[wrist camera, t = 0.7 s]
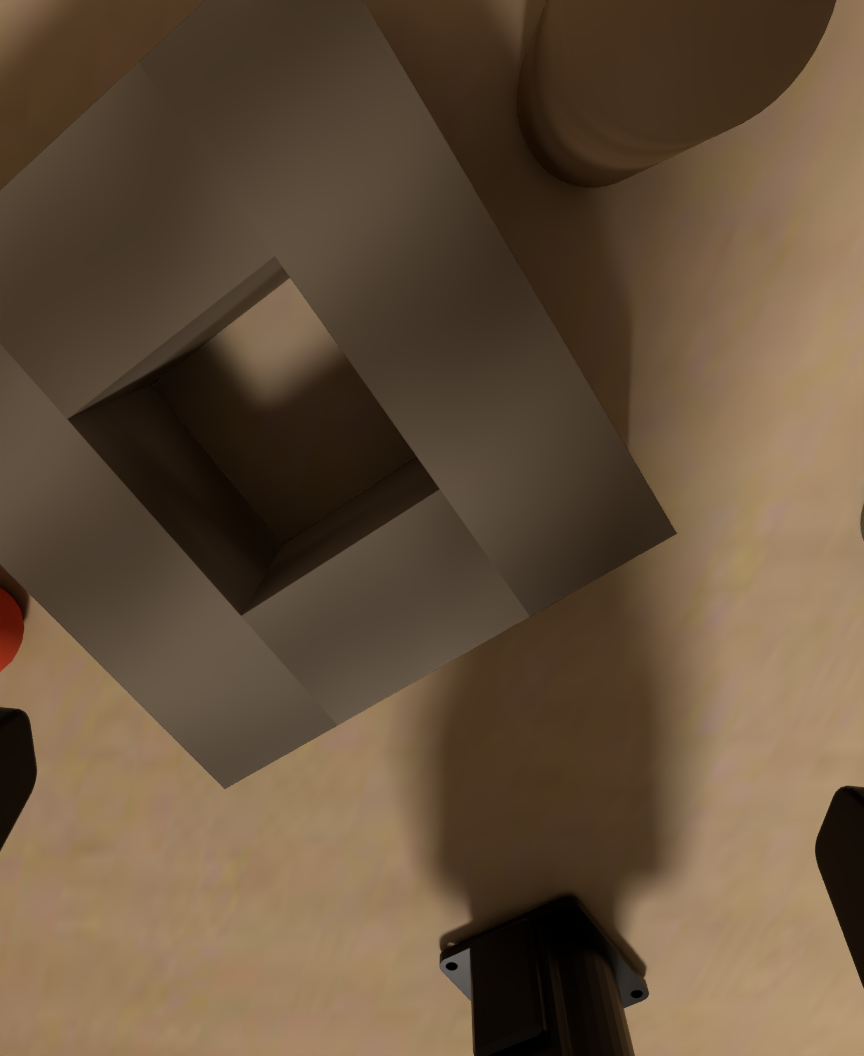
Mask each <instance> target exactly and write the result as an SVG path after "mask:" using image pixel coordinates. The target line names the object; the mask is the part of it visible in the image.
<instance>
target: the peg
mask: <svg viewBox="0 0 864 1056" xmlns="http://www.w3.org/2000/svg"><path fill="white" fill-rule="evenodd" d="M861 533H862V538H863V541H864V506H863V510H862V514H861Z"/></svg>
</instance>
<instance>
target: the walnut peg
mask: <svg viewBox="0 0 864 1056" xmlns="http://www.w3.org/2000/svg"><path fill="white" fill-rule="evenodd" d="M835 3H836V0H547V2H546V5H545V7H544V10H543V13H542V15H541V18H540V20H539V23H538V26H537V28H536V31H535V33H534V36H533V39H532V41H531V44H530V46H529V49H528V52H527V54H526V57H525V59H524V62H523V65H522V68H521V72H520V76H519V81H518V88H517V112H518V119H519V124H520V128H521V131H522V134H523V137H524V140H525V142H526V144H527V146H528V148H529V150H530V151H531V153H532V155H533V156H534V158H535V159H536V160H537V161H538V162H539V164H540V165H541V166H542V167H543V168H544V169H546V170H547V171H548V172H549V173H550V174H552V175H553V176H555V177H556V178H558V179H560V180H562V181H564V182H567V183H570V184H573V185H576V186H583V187H600V186H606V185H610V184H614V183H617V182H619V181H622V180H624V179H626V178H628V177H630V176H632V175H635V174H637V173H639V172H641V171H643V170H645V169H647V168H649V167H651V166H653V165H656V164H658V163H660V162H662V161H664V160H666V159H668V158H670V157H672V156H674V155H677V154H679V153H681V152H683V151H685V150H687V149H689V148H691V147H693V146H696V145H698V144H700V143H702V142H704V141H706V140H708V139H710V138H712V137H714V136H717V135H719V134H721V133H723V132H725V131H727V130H729V129H731V128H733V127H735V126H738V125H740V124H742V123H744V122H745V121H747V120H749V119H750V118H752V117H753V116H755V115H757V114H758V113H760V112H761V111H762V110H764V109H765V108H766V107H767V106H769V105H770V104H771V103H773V102H774V101H775V100H776V99H777V98H778V97H779V96H780V95H781V94H782V93H783V92H784V91H785V90H786V89H787V88H788V87H789V86H790V85H791V84H792V82H793V81H794V80H795V79H796V78H797V76H798V75H799V74H800V73H801V71H802V70H803V69H804V67H805V66H806V64H807V63H808V61H809V60H810V58H811V56H812V55H813V53H814V52H815V50H816V48H817V46H818V44H819V42H820V40H821V38H822V36H823V35H824V33H825V30H826V28H827V25H828V23H829V20H830V18H831V15H832V13H833V10H834V6H835Z"/></svg>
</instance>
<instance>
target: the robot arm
mask: <svg viewBox="0 0 864 1056" xmlns="http://www.w3.org/2000/svg"><path fill="white" fill-rule="evenodd" d="M36 776H37V765H36V758H35V752H34V745H33V738H32V731H31V725H30V720H29V717H28V715H27V714H26V713H25V712H24V711H22V710H20V709H14V708H3V707H0V851H1V849H2V847H3V845H4V843H5V842H6V840H7V838H8V836H9V834H10V832H11V830H12V828H13V827H14V825H15V823H16V821H17V819H18V817H19V815H20V814H21V812H22V810H23V808H24V806H25V804H26V802H27V800H28V799H29V797H30V795H31V793H32V790H33V788H34V785H35V781H36ZM815 855H816V860H817V864H818V868H819V870H820V873H821V876H822V878H823V881H824V884H825V886H826V889H827V892H828V894H829V897H830V900H831V902H832V905H833V908H834V910H835V913H836V916H837V918H838V921H839V924H840V926H841V929H842V932H843V934H844V937H845V940H846V942H847V945H848V948H849V950H850V953H851V956H852V958H853V961H854V964H855V966H856V969H857V972H858V975H859V977H860V980H861V983H862V985H863V988H864V787H857V786H844V787H841V788H840V789H838V790H837V791H836V792H835V794H834V796H833V798H832V801H831V803H830V806H829V808H828V811H827V813H826V816H825V819H824V821H823V824H822V826H821V829H820V831H819V834H818V836H817V839H816V845H815ZM440 969H441V971H442V972H443V973H444V974H445V975H446V976H447V977H448V978H449V979H450V980H451V981H452V982H453V983H454V984H455V985H456V986H457V987H458V988H459V989H460V990H461V991H462V992H463V993H464V994H465V995H466V996H467V998H468V999H469V1000H470V1001H471V1006H472V1035H473V1053H474V1056H635V1054H634V1050H633V1046H632V1041H631V1037H630V1033H629V1029H628V1025H627V1020H626V1016H625V1012H624V1008H626V1007H628V1006H631V1005H633V1004H636V1003H638V1002H641V1001H643V1000H645V999H646V998H647V997H648V995H649V991H648V988H647V984H646V981H645V979H644V978H643V977H642V976H641V975H640V973H639V972H638V971H637V970H636V968H635V967H634V966H633V965H632V964H631V962H630V961H629V960H628V959H627V958H626V956H625V955H624V954H623V953H622V951H621V950H620V949H619V948H618V947H617V945H616V944H615V943H614V942H613V940H612V939H611V938H610V937H609V936H608V934H607V933H606V932H605V931H604V929H603V928H602V927H601V926H600V925H599V923H598V922H597V921H596V920H595V918H594V917H593V916H592V915H591V914H590V912H589V911H588V910H587V909H586V907H585V906H584V905H583V904H582V903H581V901H580V900H579V899H577V898H576V897H573V896H565V897H561V898H559V899H557V900H555V901H552V902H550V903H548V904H546V905H543V906H541V907H539V908H537V909H535V910H532V911H530V912H528V913H526V914H523V915H521V916H519V917H517V918H515V919H512V920H510V921H508V922H506V923H503V924H501V925H499V926H497V927H494V928H492V929H490V930H488V931H486V932H483V933H481V934H479V935H477V936H474V937H472V938H470V939H468V940H466V941H463V942H461V943H459V944H457V945H454V946H452V947H450V948H448V949H445V950H444V951H442V952H441V954H440Z"/></svg>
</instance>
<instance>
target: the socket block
mask: <svg viewBox="0 0 864 1056" xmlns="http://www.w3.org/2000/svg"><path fill="white" fill-rule="evenodd" d="M289 278H291V279H292V281H293V282H294V284H295V285H296V286H297V288H298V289H299V291H300V292H301V294H302V295H303V296H304V298H305V299H306V301H307V302H308V303H309V305H310V306H311V308H312V309H313V311H314V312H315V313H316V315H317V316H318V318H319V319H320V320H321V322H322V323H323V325H324V326H325V327H326V329H327V330H328V332H329V333H330V335H331V336H332V337H333V339H334V340H335V342H336V343H337V344H338V346H339V347H340V349H341V350H342V351H343V353H344V354H345V356H346V357H347V359H348V360H349V361H350V363H351V364H352V366H353V367H354V368H355V370H356V371H357V373H358V374H359V376H360V377H361V378H362V380H363V381H364V383H365V384H366V385H367V387H368V388H369V390H370V391H371V392H372V394H373V395H374V397H375V398H376V400H377V401H378V402H379V404H380V405H381V407H382V408H383V409H384V411H385V412H386V414H387V415H388V417H389V418H390V419H391V421H392V422H393V424H394V425H395V426H396V428H397V429H398V431H399V432H400V433H401V435H402V436H403V438H404V439H405V441H406V442H407V443H408V445H409V446H410V448H411V449H412V450H413V452H414V453H415V455H416V456H417V457H416V458H414V459H413V460H411V461H410V462H408V463H407V464H405V465H404V466H402V467H400V468H399V469H397V470H396V471H394V472H393V473H391V474H390V475H388V476H387V477H385V478H384V479H382V480H381V481H379V482H378V483H376V484H375V485H373V486H372V487H370V488H369V489H367V490H366V491H364V492H362V493H361V494H359V495H358V496H356V497H355V498H353V499H352V500H350V501H349V502H347V503H346V504H344V505H343V506H341V507H340V508H338V509H337V510H335V511H334V512H332V513H331V514H329V515H327V516H326V517H324V518H323V519H321V520H320V521H318V522H317V523H315V524H314V525H312V526H311V527H309V528H308V529H306V530H305V531H303V532H302V533H300V534H299V535H297V536H296V537H294V538H293V539H291V540H289V541H288V542H286V543H285V544H283V545H282V544H281V543H280V542H279V540H278V539H277V538H276V537H275V535H274V534H273V533H272V532H271V531H270V529H269V528H268V527H267V526H266V525H265V523H264V522H263V521H262V520H261V518H260V517H259V516H258V515H257V514H256V512H255V511H254V510H253V509H252V508H251V506H250V505H249V504H248V503H247V501H246V500H245V499H244V498H243V497H242V495H241V494H240V493H239V492H238V491H237V489H236V488H235V487H234V486H233V484H232V483H231V482H230V481H229V480H228V478H227V477H226V476H225V475H224V473H223V472H222V471H221V470H220V469H219V467H218V466H217V465H216V464H215V463H214V461H213V460H212V459H211V458H210V456H209V455H208V454H207V453H206V452H205V450H204V449H203V448H202V447H201V446H200V444H199V443H198V442H197V441H196V439H195V438H194V437H193V436H192V435H191V433H190V432H189V431H188V430H187V429H186V427H185V426H184V425H183V424H182V422H181V421H180V420H179V419H178V418H177V416H176V415H175V414H174V413H173V412H172V410H171V409H170V408H169V407H168V405H167V404H166V403H165V402H164V401H163V399H162V398H161V397H160V396H159V395H158V393H157V392H156V391H155V390H154V388H153V387H152V386H151V385H152V384H153V383H154V382H155V381H157V380H158V379H159V378H161V377H162V376H163V375H164V374H166V373H167V372H168V371H170V370H171V369H172V368H174V367H175V366H176V365H177V364H179V363H180V362H181V361H183V360H184V359H185V358H187V357H188V356H189V355H190V354H192V353H193V352H194V351H196V350H197V349H198V348H199V347H201V346H202V345H203V344H205V343H206V342H207V341H209V340H210V339H211V338H212V337H214V336H215V335H216V334H218V333H219V332H220V331H221V330H223V329H224V328H225V327H227V326H228V325H229V324H231V323H232V322H233V321H234V320H236V319H237V318H238V317H240V316H241V315H242V314H244V313H245V312H246V311H247V310H249V309H250V308H251V307H253V306H254V305H255V304H256V303H258V302H259V301H260V300H262V299H263V298H264V297H266V296H267V295H268V294H269V293H271V292H272V291H273V290H275V289H276V288H277V287H278V286H280V285H281V284H282V283H284V282H285V281H286V280H288V279H289ZM675 534H677V533H676V531H675V530H674V528H673V526H672V525H671V523H670V521H669V519H668V518H667V516H666V514H665V513H664V511H663V509H662V507H661V506H660V504H659V502H658V501H657V499H656V497H655V496H654V494H653V492H652V490H651V489H650V487H649V485H648V484H647V482H646V480H645V479H644V477H643V475H642V473H641V472H640V470H639V468H638V467H637V465H636V463H635V462H634V460H633V458H632V456H631V455H630V453H629V451H628V450H627V448H626V446H625V445H624V443H623V441H622V439H621V438H620V436H619V434H618V433H617V431H616V429H615V428H614V426H613V424H612V422H611V421H610V419H609V417H608V416H607V414H606V412H605V411H604V409H603V407H602V405H601V404H600V402H599V400H598V399H597V397H596V395H595V393H594V392H593V390H592V388H591V387H590V385H589V383H588V382H587V380H586V378H585V376H584V375H583V373H582V371H581V370H580V368H579V366H578V365H577V363H576V361H575V359H574V358H573V356H572V354H571V353H570V351H569V349H568V348H567V346H566V344H565V342H564V341H563V339H562V337H561V336H560V334H559V332H558V331H557V329H556V327H555V325H554V324H553V322H552V320H551V319H550V317H549V315H548V314H547V312H546V310H545V308H544V307H543V305H542V303H541V302H540V300H539V298H538V297H537V295H536V293H535V291H534V290H533V288H532V286H531V285H530V283H529V281H528V280H527V278H526V276H525V274H524V273H523V271H522V269H521V268H520V266H519V264H518V262H517V261H516V259H515V257H514V256H513V254H512V252H511V251H510V249H509V247H508V245H507V244H506V242H505V240H504V239H503V237H502V235H501V234H500V232H499V230H498V228H497V227H496V225H495V223H494V222H493V220H492V218H491V217H490V215H489V213H488V211H487V210H486V208H485V206H484V205H483V203H482V201H481V200H480V198H479V196H478V194H477V193H476V191H475V189H474V188H473V186H472V184H471V183H470V181H469V179H468V177H467V176H466V174H465V172H464V171H463V169H462V167H461V166H460V164H459V162H458V160H457V159H456V157H455V155H454V154H453V152H452V150H451V149H450V147H449V145H448V143H447V142H446V140H445V138H444V137H443V135H442V133H441V131H440V130H439V128H438V126H437V125H436V123H435V121H434V120H433V118H432V116H431V114H430V113H429V111H428V109H427V108H426V106H425V104H424V103H423V101H422V99H421V97H420V96H419V94H418V92H417V91H416V89H415V87H414V86H413V84H412V82H411V80H410V79H409V77H408V75H407V74H406V72H405V70H404V69H403V67H402V65H401V63H400V62H399V60H398V58H397V57H396V55H395V53H394V52H393V50H392V48H391V46H390V45H389V43H388V41H387V40H386V38H385V36H384V35H383V33H382V31H381V29H380V28H379V26H378V24H377V23H376V21H375V19H374V18H373V16H372V14H371V12H370V11H369V9H368V7H367V6H366V4H365V2H364V0H205V1H204V2H203V3H202V4H201V5H200V6H199V7H198V8H196V9H195V10H194V11H193V12H192V13H191V14H190V15H189V16H188V17H187V18H186V19H185V20H184V21H182V22H181V23H180V24H179V25H178V26H177V27H176V28H175V29H174V30H173V31H172V32H171V33H169V34H168V35H167V36H166V37H165V38H164V39H163V40H162V41H161V42H160V43H159V44H158V45H157V46H155V47H154V48H153V49H152V50H151V51H150V52H149V53H148V54H147V55H146V56H145V57H144V58H143V59H141V60H140V61H139V62H138V63H137V64H136V65H135V66H134V67H133V68H132V69H131V70H130V71H128V72H127V73H126V74H125V75H124V76H123V77H122V78H121V79H120V80H119V81H118V82H117V83H116V84H114V85H113V86H112V87H111V88H110V89H109V90H108V91H107V92H106V93H105V94H104V95H103V96H102V97H100V98H99V99H98V100H97V101H96V102H95V103H94V104H93V105H92V106H91V107H90V108H89V109H87V110H86V111H85V112H84V113H83V114H82V115H81V116H80V117H79V118H78V119H77V120H76V121H75V122H73V123H72V124H71V125H70V126H69V127H68V128H67V129H66V130H65V131H64V132H63V133H62V134H61V135H59V136H58V137H57V138H56V139H55V140H54V141H53V142H52V143H51V144H50V145H49V146H48V147H46V148H45V149H44V150H43V151H42V152H41V153H40V154H39V155H38V156H37V157H36V158H35V159H34V160H32V161H31V162H30V163H29V164H28V165H27V166H26V167H25V168H24V169H23V170H22V171H21V172H19V173H18V174H17V175H16V176H15V177H14V178H13V179H12V180H11V181H10V182H9V183H8V184H7V185H5V186H4V187H3V188H2V189H1V190H0V565H1V566H2V567H3V568H4V569H5V570H6V571H7V572H8V573H9V574H10V575H11V576H12V577H13V578H14V579H15V580H16V581H17V582H18V583H19V584H20V585H21V586H22V587H23V588H24V589H25V590H26V591H27V592H28V593H29V594H30V595H31V596H32V597H33V598H34V599H35V600H36V601H37V602H38V603H39V604H40V605H41V606H42V607H43V608H44V609H45V610H46V611H47V612H48V613H49V614H50V615H51V616H52V617H53V618H54V619H55V620H56V621H57V622H58V623H59V624H60V625H61V626H62V627H63V628H64V629H65V630H66V631H67V632H68V633H69V634H70V635H71V636H72V637H73V638H74V639H75V640H76V641H77V642H78V643H79V644H80V645H81V646H82V647H83V648H84V649H85V650H86V651H87V652H88V653H89V654H90V655H91V656H92V657H93V658H94V659H95V660H96V661H97V662H98V663H99V664H100V665H101V666H102V667H103V668H104V669H105V670H106V671H107V672H108V673H109V674H110V675H111V676H112V677H113V678H114V679H115V680H116V681H117V682H118V683H119V684H120V685H121V686H122V687H123V688H124V689H125V690H126V691H127V692H128V693H129V694H130V695H131V696H132V697H133V698H134V699H135V700H136V701H137V702H138V703H139V704H140V705H141V706H142V707H143V708H144V709H145V710H146V711H147V712H148V713H149V714H150V715H151V716H152V717H153V718H154V719H155V720H156V721H157V722H158V723H159V724H160V725H161V726H162V727H163V728H164V729H165V730H166V731H167V732H168V733H169V734H170V735H171V736H172V737H173V738H174V739H175V740H176V741H177V742H178V743H179V744H180V745H181V746H182V747H183V748H184V749H185V750H186V751H187V752H188V753H189V754H190V755H191V756H192V757H193V758H194V759H195V760H196V761H197V762H198V763H199V764H200V765H201V766H202V767H203V768H204V769H205V770H206V771H207V772H208V773H209V774H210V775H211V776H212V777H213V778H214V779H215V780H216V781H217V782H218V783H219V784H220V785H221V786H222V787H223V788H224V789H226V788H228V787H229V786H231V785H233V784H235V783H237V782H238V781H240V780H242V779H244V778H245V777H247V776H249V775H251V774H252V773H254V772H256V771H258V770H260V769H261V768H263V767H265V766H267V765H268V764H270V763H272V762H274V761H275V760H277V759H279V758H281V757H283V756H284V755H286V754H288V753H290V752H291V751H293V750H295V749H297V748H298V747H300V746H302V745H304V744H306V743H307V742H309V741H311V740H313V739H314V738H316V737H318V736H320V735H321V734H323V733H325V732H327V731H329V730H330V729H332V728H334V727H336V726H337V725H339V724H341V723H343V722H344V721H346V720H348V719H350V718H352V717H353V716H355V715H357V714H359V713H360V712H362V711H364V710H366V709H367V708H369V707H371V706H373V705H375V704H376V703H378V702H380V701H382V700H383V699H385V698H387V697H389V696H390V695H392V694H394V693H396V692H398V691H399V690H401V689H403V688H405V687H406V686H408V685H410V684H412V683H413V682H415V681H417V680H419V679H421V678H422V677H424V676H426V675H428V674H429V673H431V672H433V671H435V670H436V669H438V668H440V667H442V666H444V665H445V664H447V663H449V662H451V661H452V660H454V659H456V658H458V657H459V656H461V655H463V654H465V653H467V652H468V651H470V650H472V649H474V648H475V647H477V646H479V645H481V644H482V643H484V642H486V641H488V640H489V639H491V638H493V637H495V636H497V635H498V634H500V633H502V632H504V631H505V630H507V629H509V628H511V627H512V626H514V625H516V624H518V623H520V622H521V621H523V620H525V619H527V618H528V617H530V616H532V615H534V614H535V613H537V612H539V611H541V610H543V609H544V608H546V607H548V606H550V605H551V604H553V603H555V602H557V601H558V600H560V599H562V598H564V597H566V596H567V595H569V594H571V593H573V592H574V591H576V590H578V589H580V588H581V587H583V586H585V585H587V584H589V583H590V582H592V581H594V580H596V579H597V578H599V577H601V576H603V575H604V574H606V573H608V572H610V571H612V570H613V569H615V568H617V567H619V566H620V565H622V564H624V563H626V562H627V561H629V560H631V559H633V558H635V557H636V556H638V555H640V554H642V553H643V552H645V551H647V550H649V549H650V548H652V547H654V546H656V545H658V544H659V543H661V542H663V541H665V540H666V539H668V538H670V537H672V536H673V535H675Z"/></svg>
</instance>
